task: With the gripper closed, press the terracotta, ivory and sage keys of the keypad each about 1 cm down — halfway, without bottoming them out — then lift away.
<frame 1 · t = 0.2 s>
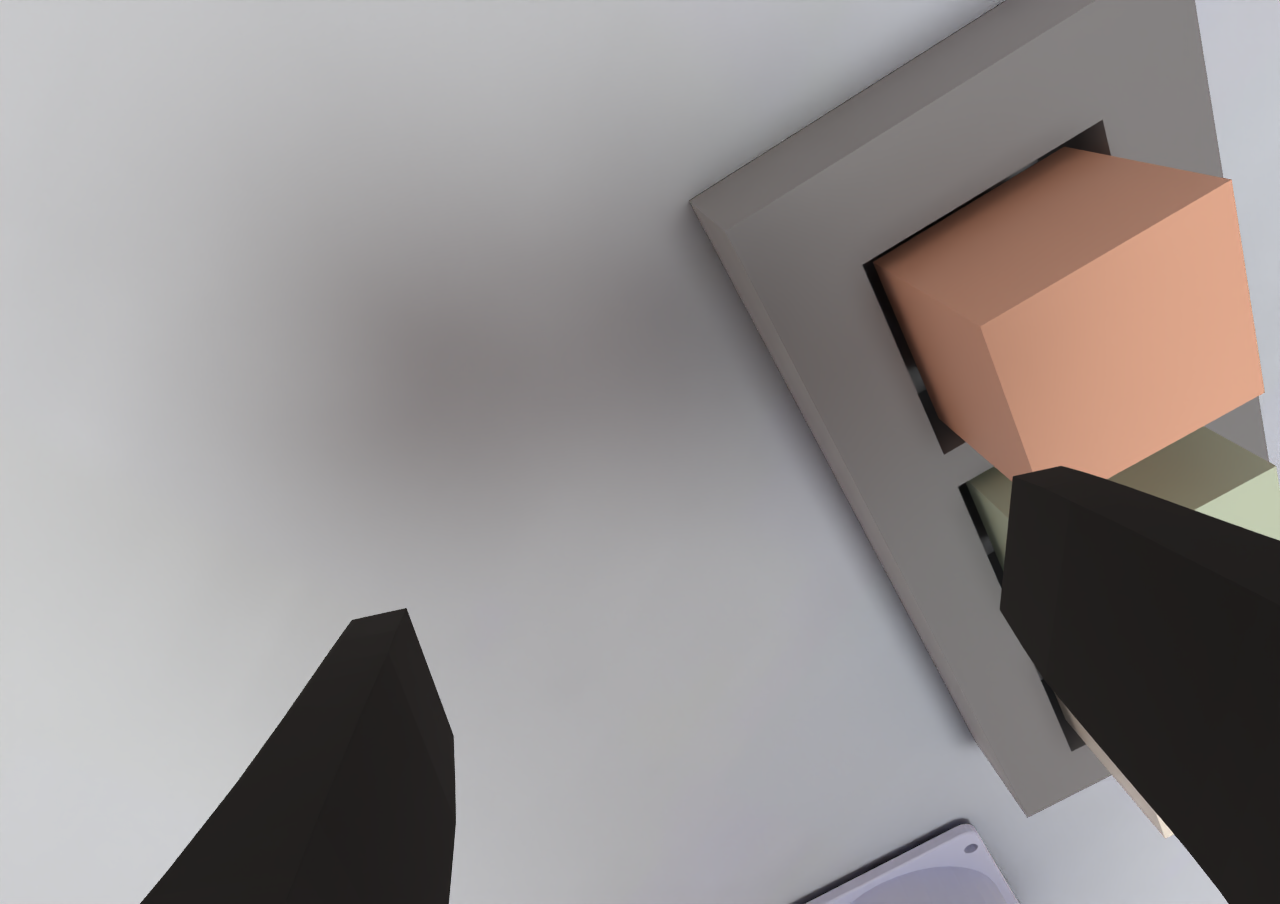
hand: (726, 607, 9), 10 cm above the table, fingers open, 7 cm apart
sage key: (1121, 538, 18), point 4 cm above the table, slide at 0.0 cm
terracotta key: (1055, 323, 15), point 4 cm above the table, slide at 0.0 cm
keypad housing: (1011, 450, 22), on the table
ivory key: (1168, 693, 21), point 4 cm above the table, slide at 0.0 cm
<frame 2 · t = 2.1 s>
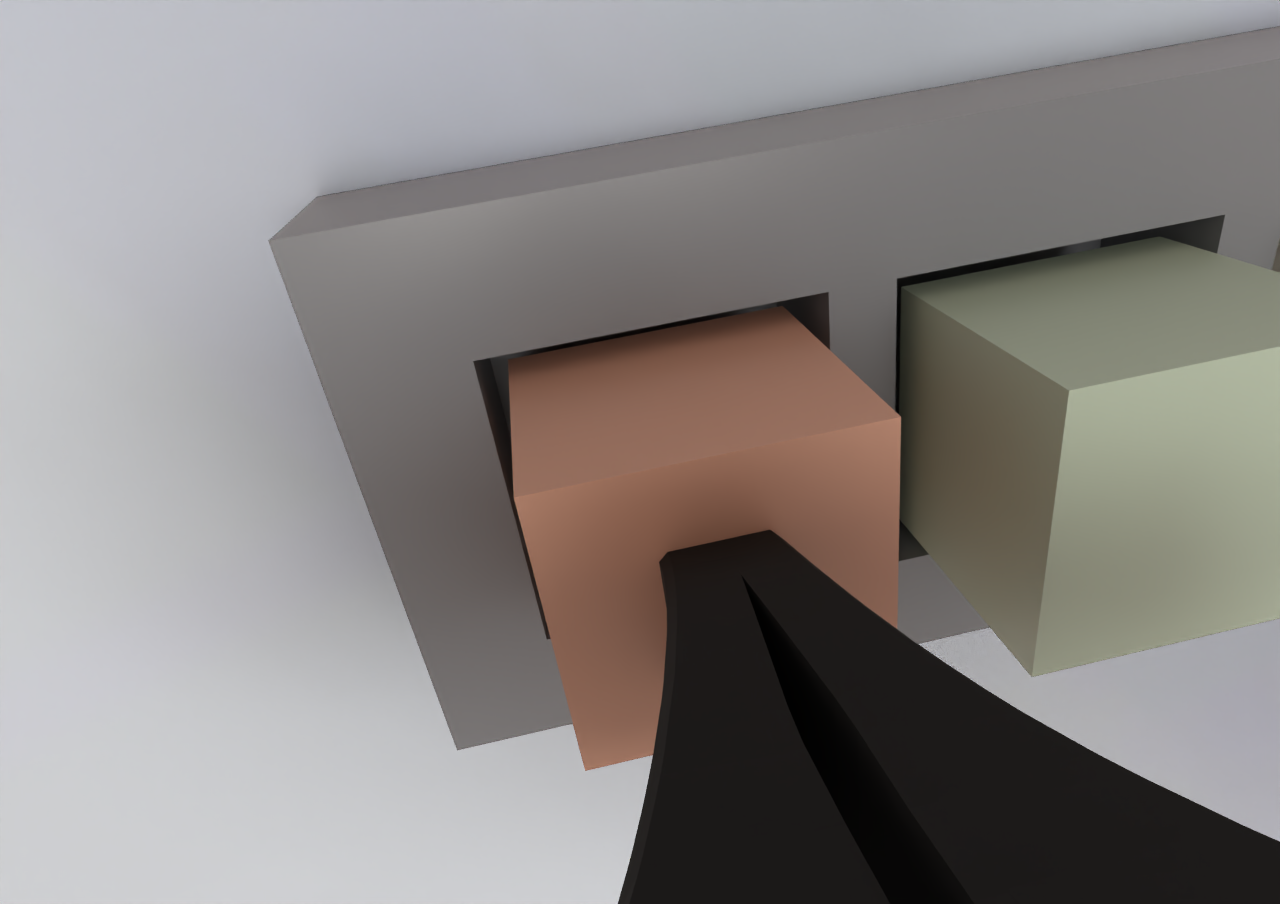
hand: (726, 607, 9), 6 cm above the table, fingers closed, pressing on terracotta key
sage key: (1100, 439, 11), point 4 cm above the table, slide at 0.0 cm
terracotta key: (691, 519, 11), point 4 cm above the table, slide at 0.2 cm, touching gripper
keypad housing: (950, 339, 15), on the table
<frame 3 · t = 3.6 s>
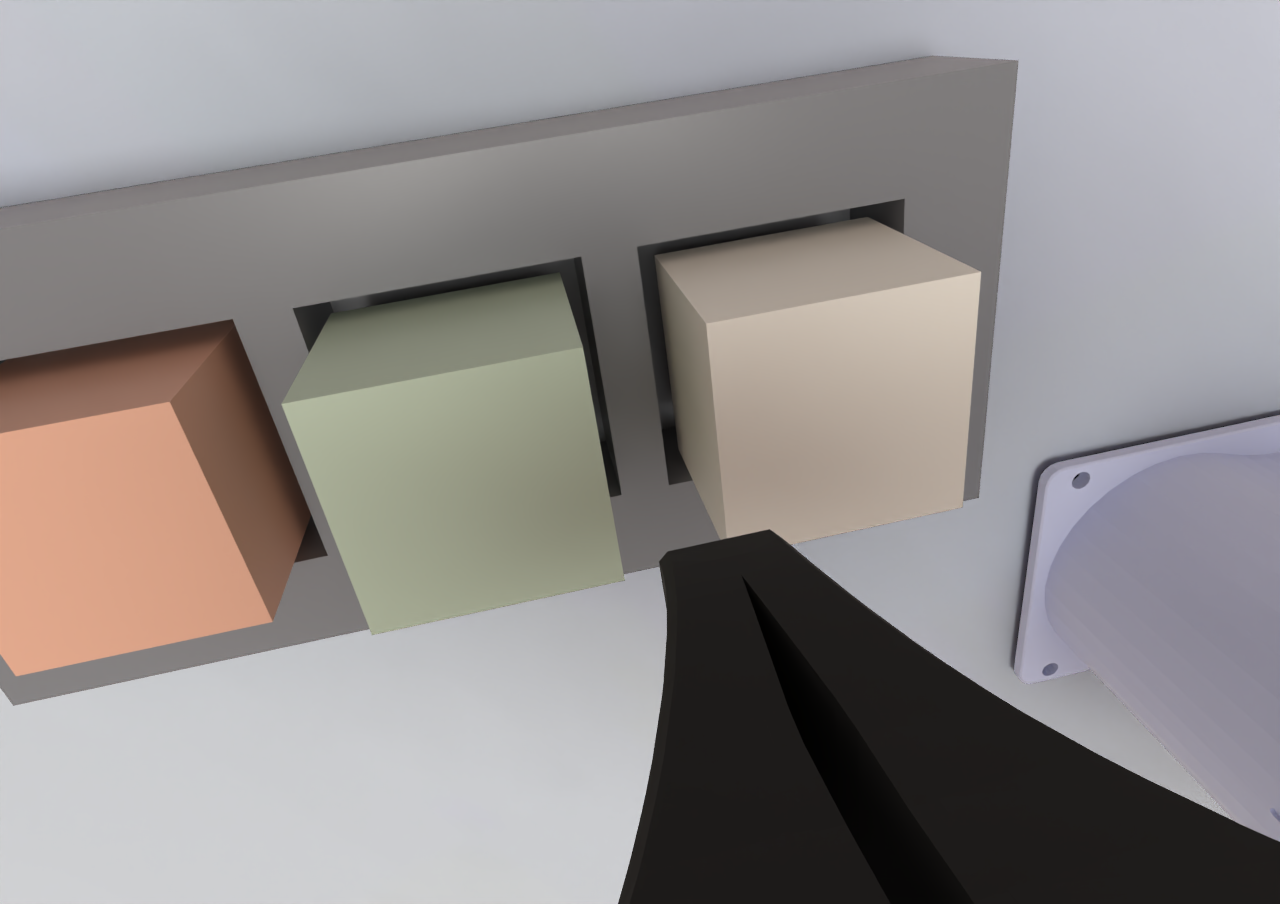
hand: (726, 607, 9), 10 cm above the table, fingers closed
sage key: (472, 441, 14), point 4 cm above the table, slide at 0.0 cm
terracotta key: (136, 484, 14), point 3 cm above the table, slide at 0.9 cm
keypad housing: (474, 354, 18), on the table
ivory key: (802, 376, 14), point 4 cm above the table, slide at 0.0 cm
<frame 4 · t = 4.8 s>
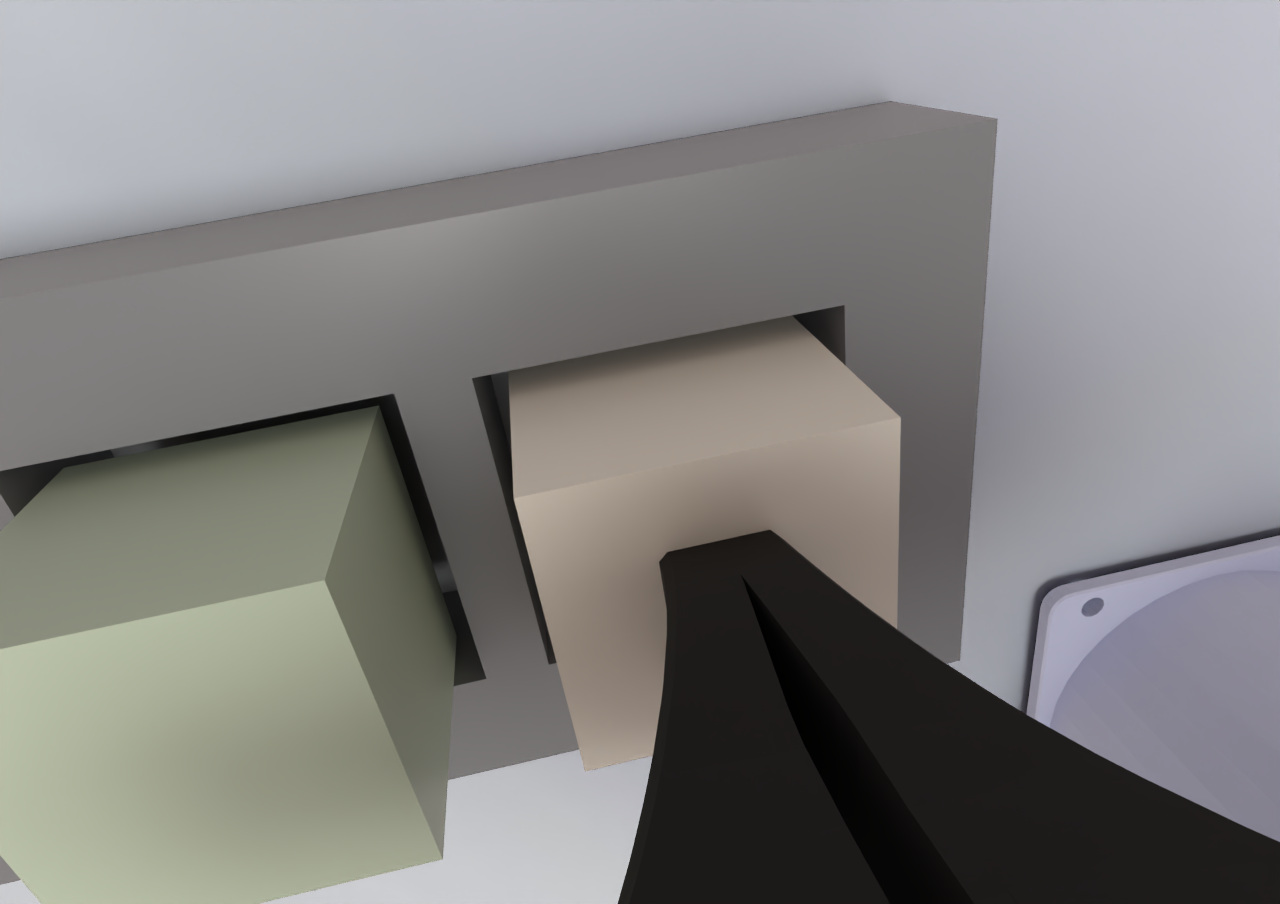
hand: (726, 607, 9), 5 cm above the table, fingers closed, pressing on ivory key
sage key: (242, 651, 10), point 4 cm above the table, slide at 0.0 cm
keypad housing: (311, 483, 14), on the table
ivory key: (691, 520, 11), point 4 cm above the table, slide at 0.8 cm, touching gripper
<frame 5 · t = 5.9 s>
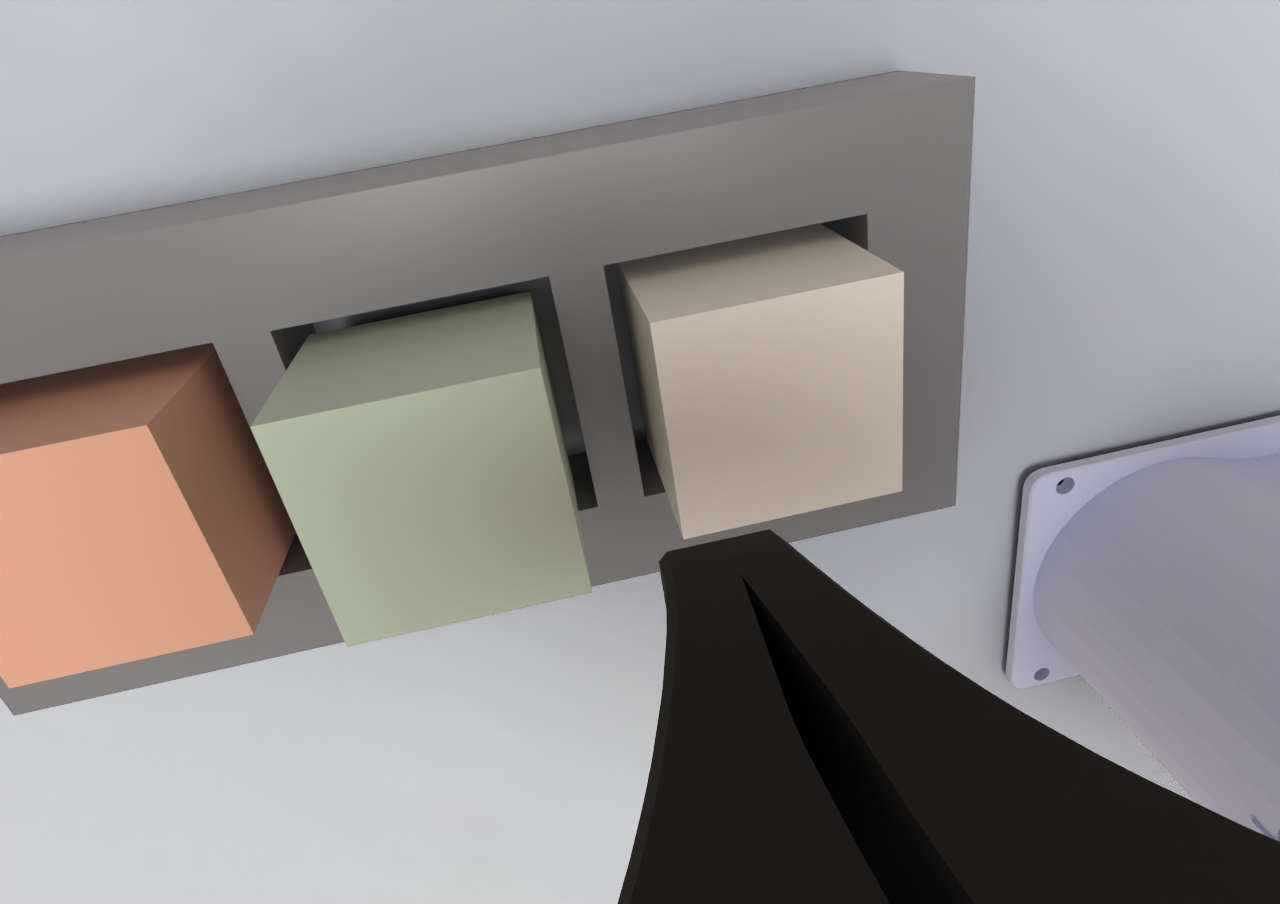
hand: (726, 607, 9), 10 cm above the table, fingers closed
sage key: (444, 457, 14), point 4 cm above the table, slide at 0.0 cm
terracotta key: (124, 502, 15), point 3 cm above the table, slide at 0.9 cm
keypad housing: (455, 369, 18), on the table
ivory key: (753, 371, 15), point 3 cm above the table, slide at 0.9 cm
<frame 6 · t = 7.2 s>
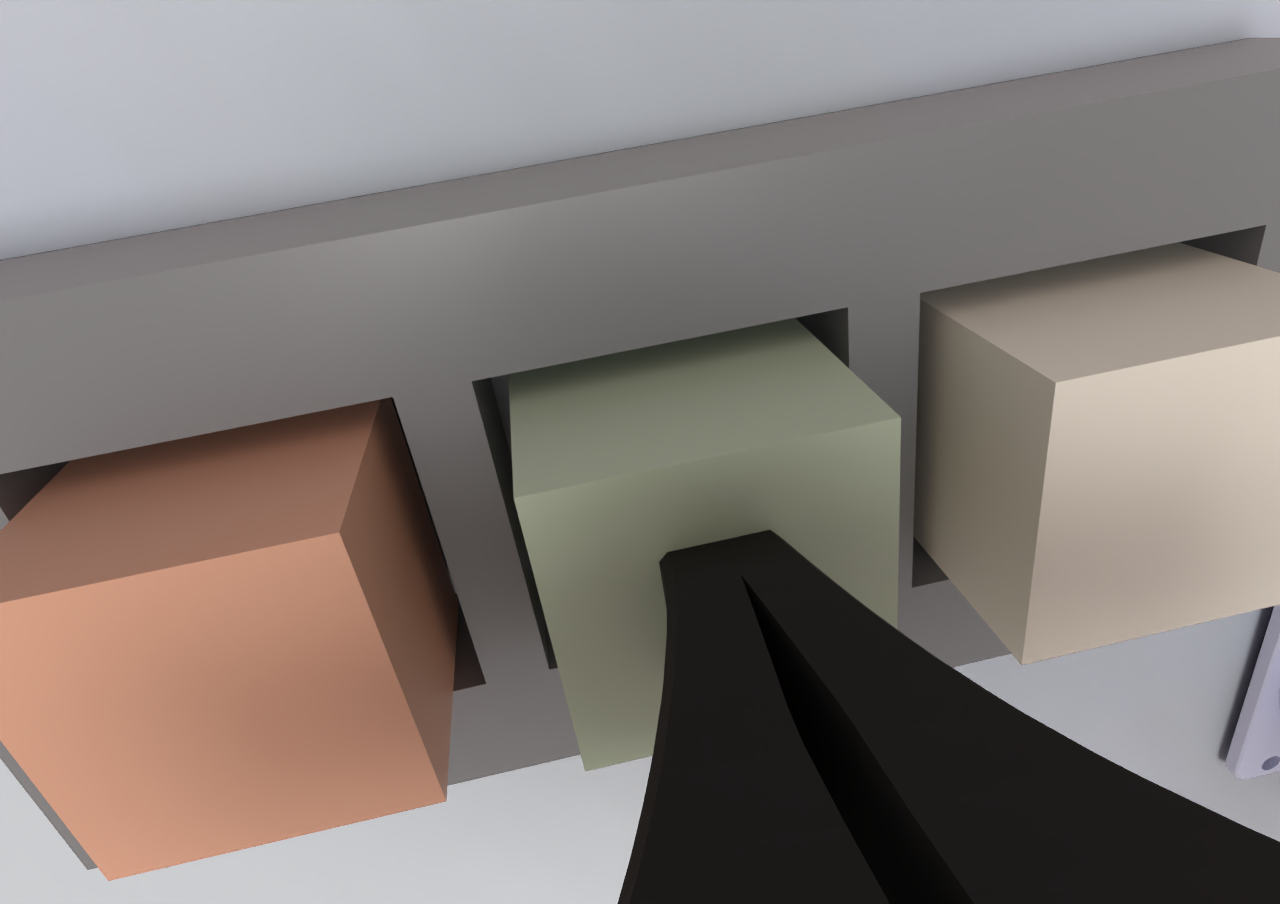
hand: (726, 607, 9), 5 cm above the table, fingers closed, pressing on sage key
sage key: (691, 520, 11), point 3 cm above the table, slide at 0.9 cm, touching gripper
terracotta key: (258, 610, 11), point 3 cm above the table, slide at 0.9 cm
keypad housing: (649, 417, 14), on the table
ivory key: (1090, 432, 12), point 3 cm above the table, slide at 0.9 cm
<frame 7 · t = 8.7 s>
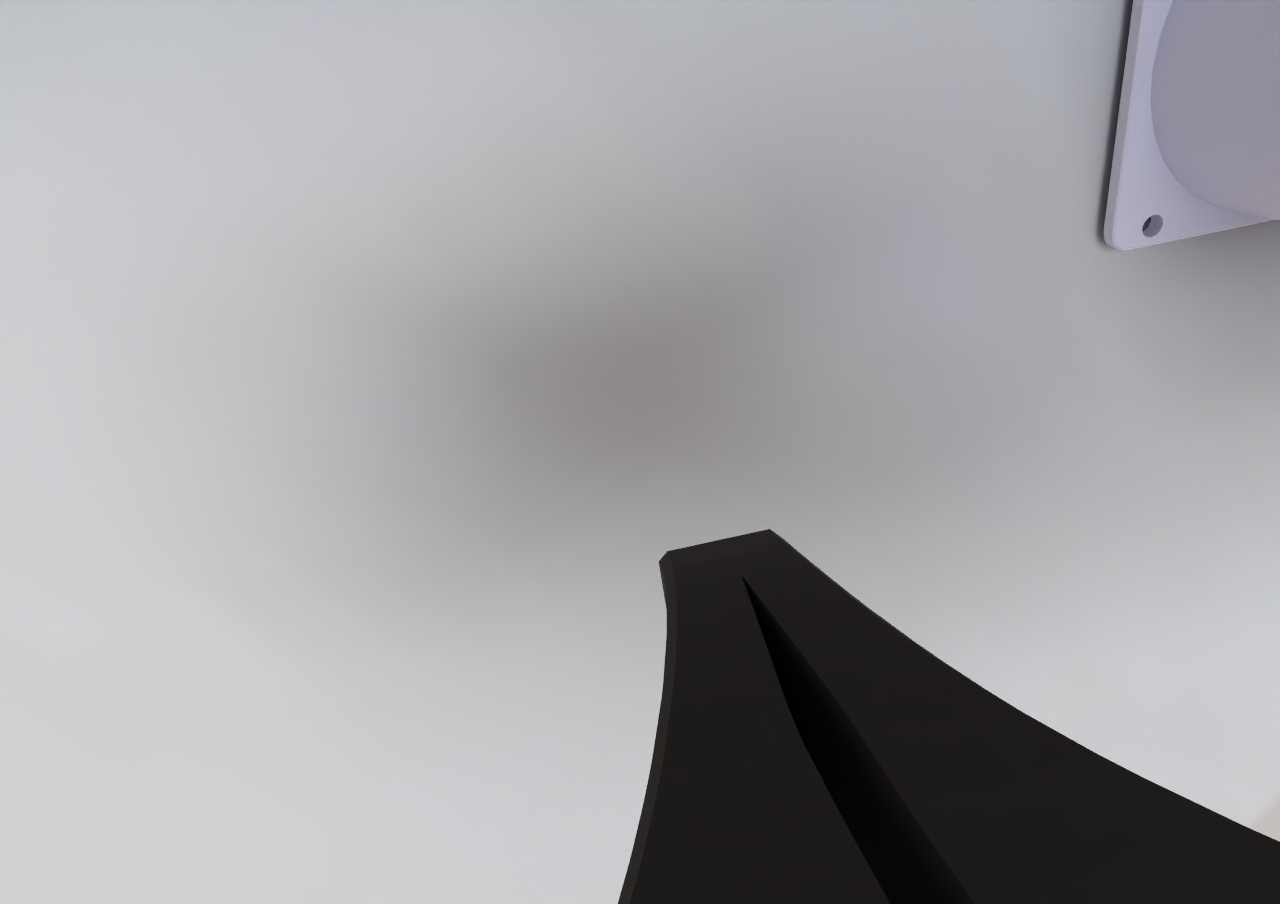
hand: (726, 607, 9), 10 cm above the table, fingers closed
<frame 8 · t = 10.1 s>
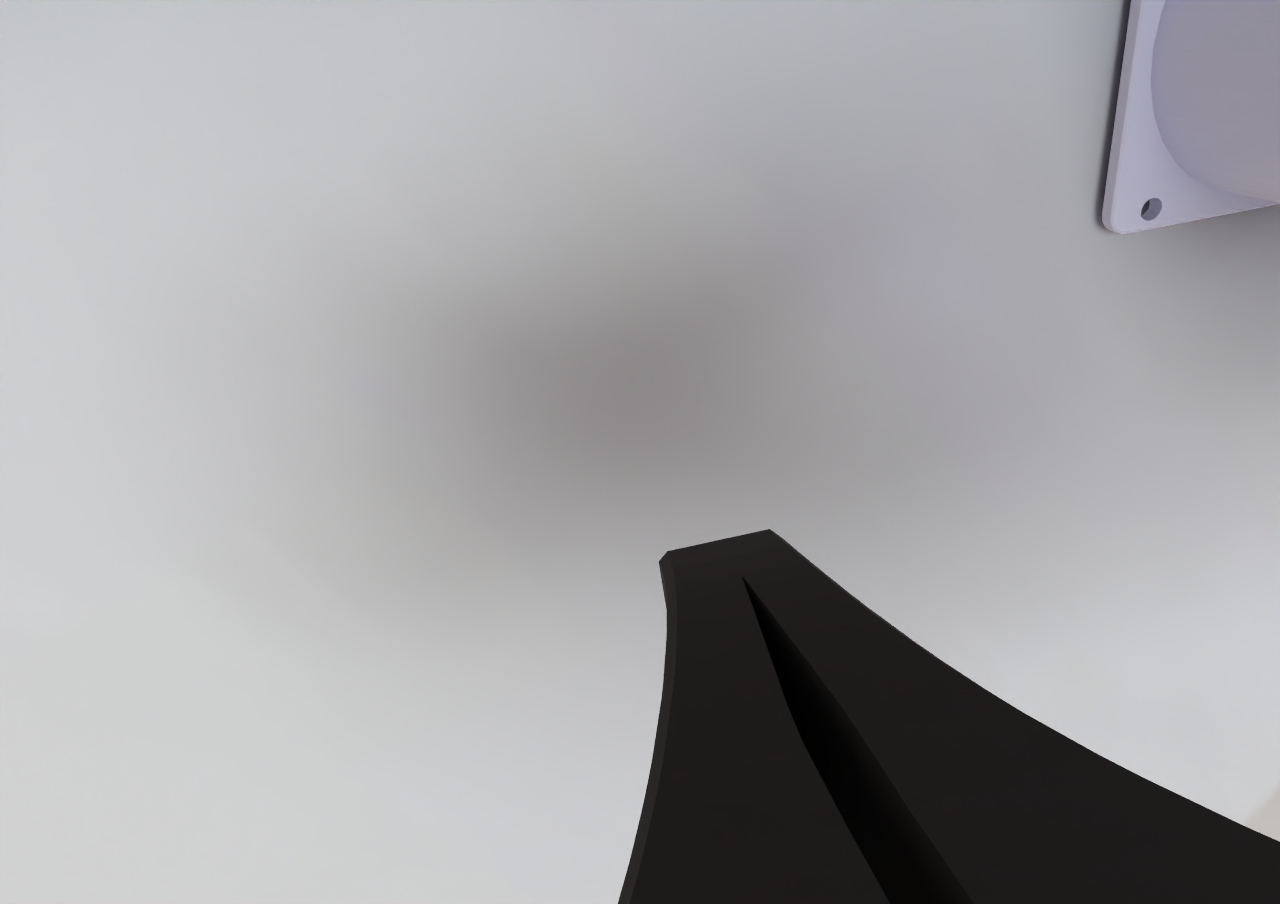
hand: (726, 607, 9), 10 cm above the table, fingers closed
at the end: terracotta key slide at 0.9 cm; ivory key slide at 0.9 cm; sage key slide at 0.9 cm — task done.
